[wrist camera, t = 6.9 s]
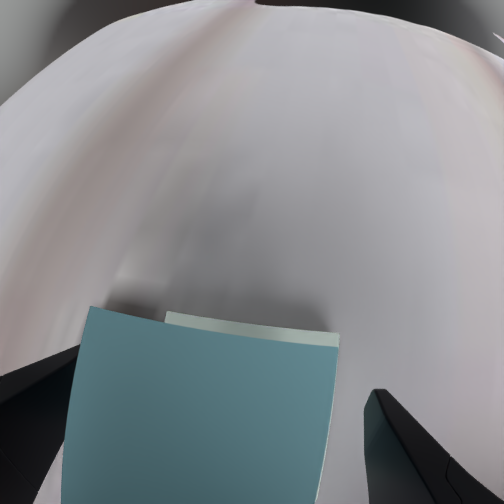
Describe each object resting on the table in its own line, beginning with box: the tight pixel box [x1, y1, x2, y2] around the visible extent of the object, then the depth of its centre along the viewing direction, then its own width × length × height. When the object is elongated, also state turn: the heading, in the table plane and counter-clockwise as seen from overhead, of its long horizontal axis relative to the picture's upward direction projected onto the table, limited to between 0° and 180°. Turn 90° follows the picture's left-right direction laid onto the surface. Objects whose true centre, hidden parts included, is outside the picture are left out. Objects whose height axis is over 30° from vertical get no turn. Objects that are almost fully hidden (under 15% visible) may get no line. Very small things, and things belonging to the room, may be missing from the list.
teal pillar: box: [61, 306, 338, 504], centre depth 9 cm, size 4×4×12 cm
